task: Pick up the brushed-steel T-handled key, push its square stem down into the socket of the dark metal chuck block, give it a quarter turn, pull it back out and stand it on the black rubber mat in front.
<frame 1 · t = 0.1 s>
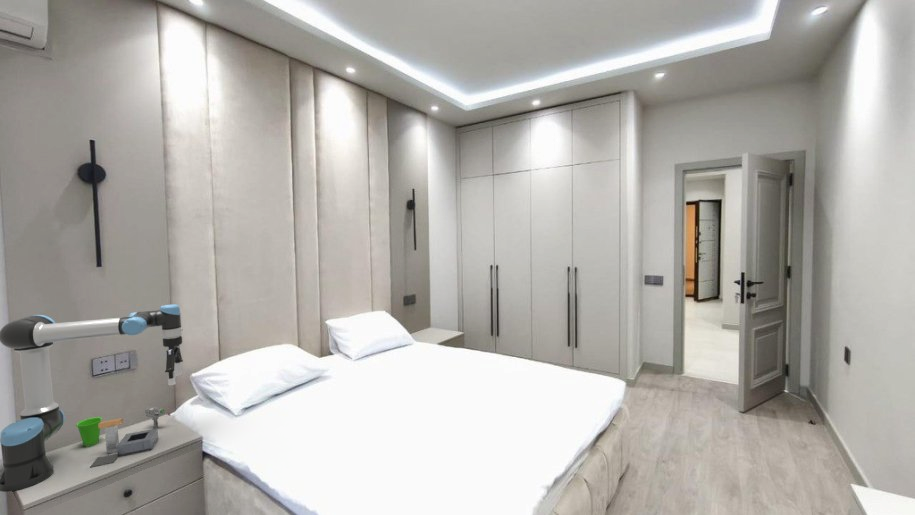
hand: (175, 380, 191), 28 cm above the nightstand, fingers open, 13 cm apart
mat: (105, 460, 173), on the nightstand
mechanical component: (156, 428, 202), on the nightstand
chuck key: (113, 450, 181), on the nightstand
cup: (91, 444, 188), on the nightstand
chuck block: (138, 447, 183), on the nightstand
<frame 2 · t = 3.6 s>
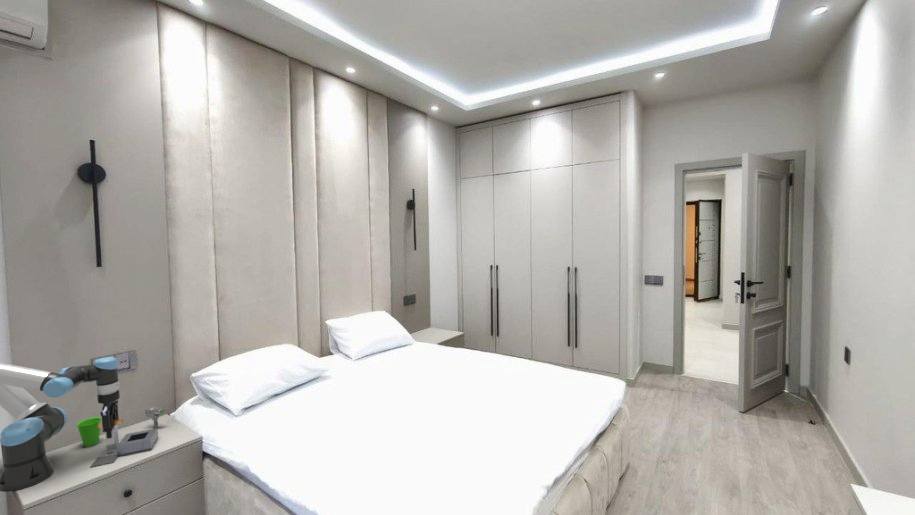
hand: (112, 441, 181), 4 cm above the nightstand, fingers closed on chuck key, 3 cm apart
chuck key: (113, 450, 181), on the nightstand, touching gripper
everything else where it was.
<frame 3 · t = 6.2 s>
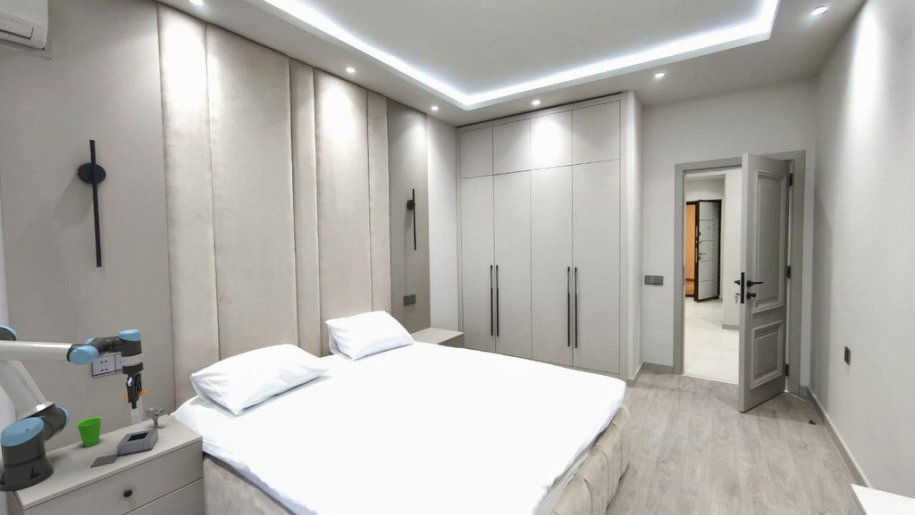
hand: (137, 413, 183), 16 cm above the nightstand, fingers closed on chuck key, 3 cm apart
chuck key: (137, 421, 183), point 12 cm above the nightstand, touching gripper
everything else where it was.
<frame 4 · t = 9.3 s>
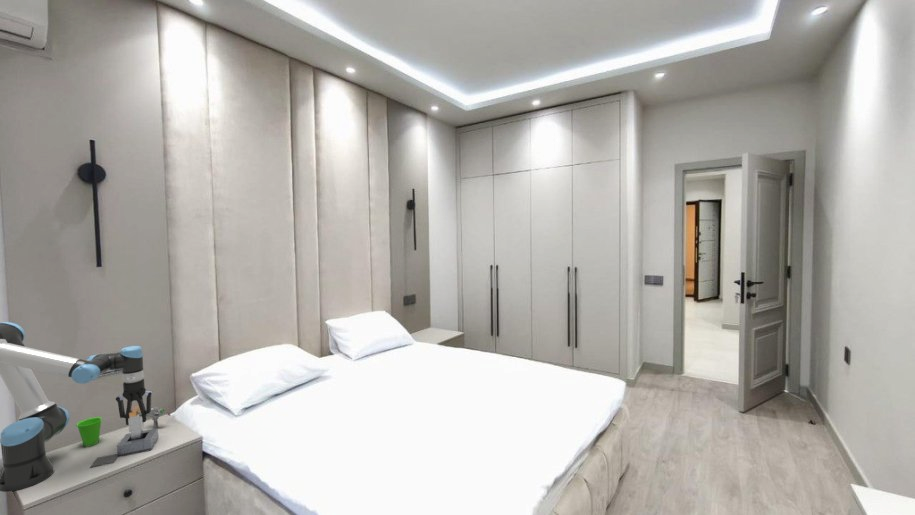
hand: (136, 429, 183), 8 cm above the nightstand, fingers closed on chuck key, 3 cm apart
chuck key: (137, 438, 183), point 4 cm above the nightstand, touching gripper
everything else where it was.
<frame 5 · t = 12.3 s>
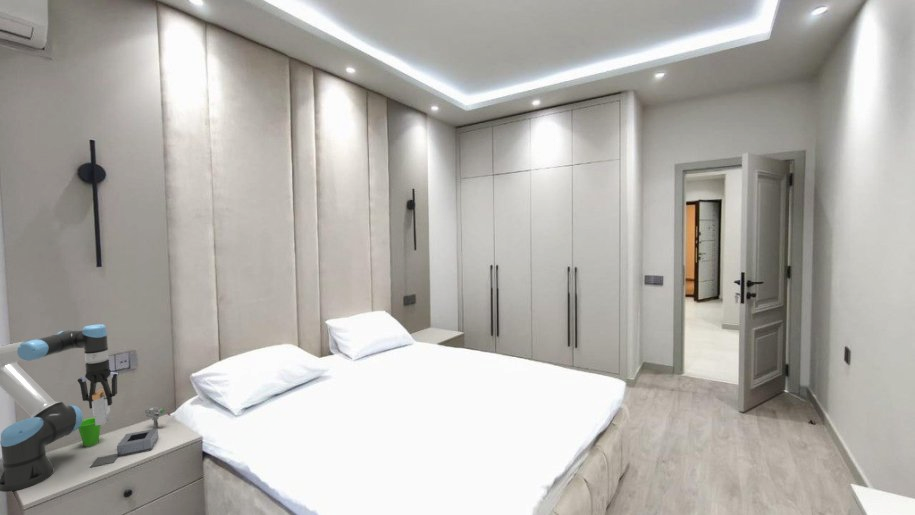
hand: (101, 413, 172), 21 cm above the nightstand, fingers closed on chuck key, 3 cm apart
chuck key: (102, 422, 172), point 17 cm above the nightstand, touching gripper
everything else where it was.
when the fingers open (6 cm above the nightstand, at t = 15.1 s): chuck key drops 2 cm, resting on mat.
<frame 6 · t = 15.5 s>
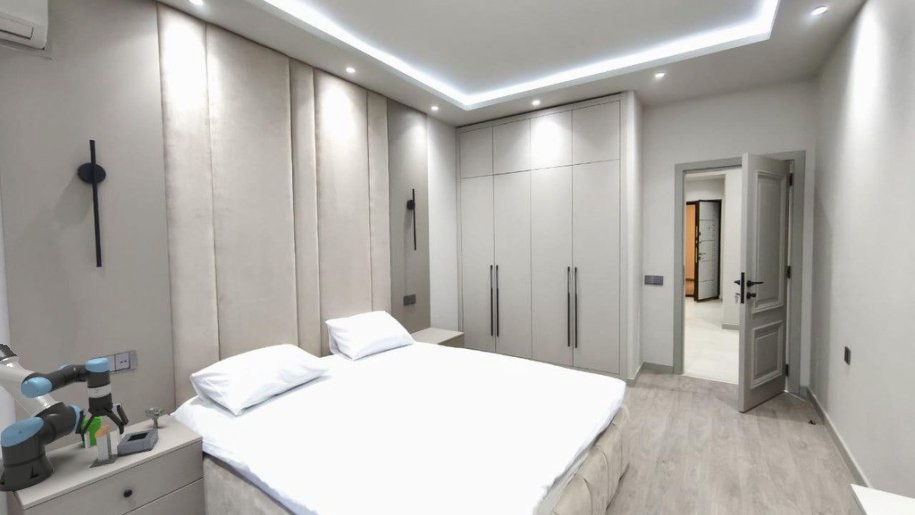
hand: (104, 444, 172), 7 cm above the nightstand, fingers open, 10 cm apart
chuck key: (105, 459, 173), resting on mat
everything else where it was.
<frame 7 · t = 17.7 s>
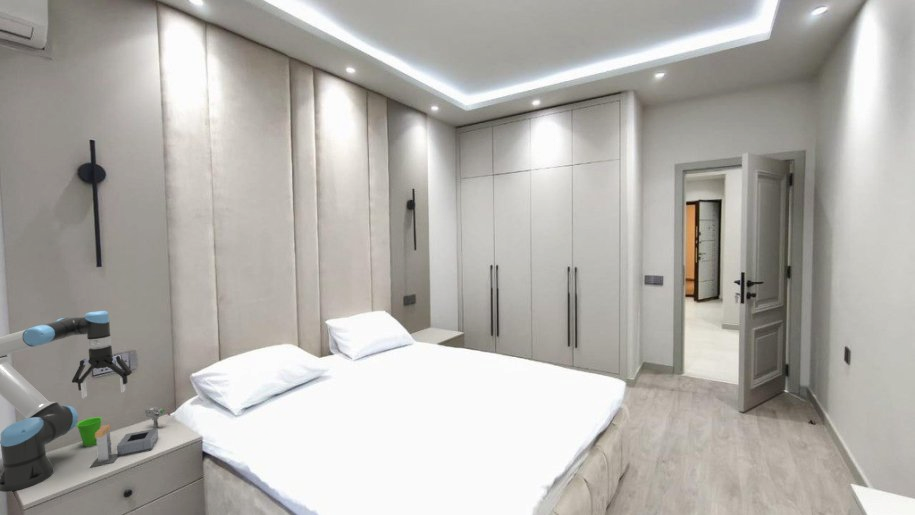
hand: (104, 394, 174), 29 cm above the nightstand, fingers open, 13 cm apart
nothing on the nightstand moved.
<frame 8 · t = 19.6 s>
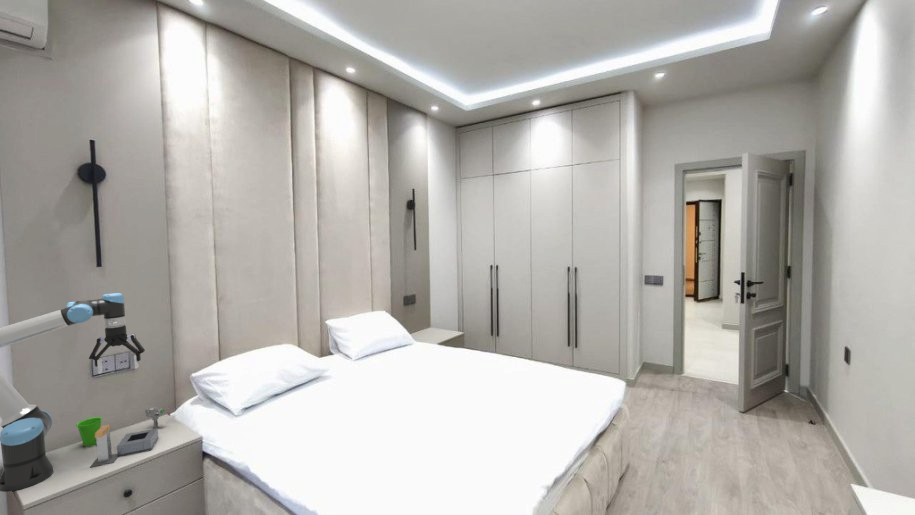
hand: (119, 370, 187), 35 cm above the nightstand, fingers open, 13 cm apart
nothing on the nightstand moved.
at the end: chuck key inside the target area on the mat (0.1 cm from its centre), point 0.4 cm above the mat's base; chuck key tilted 0°; the gripper is holding nothing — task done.
